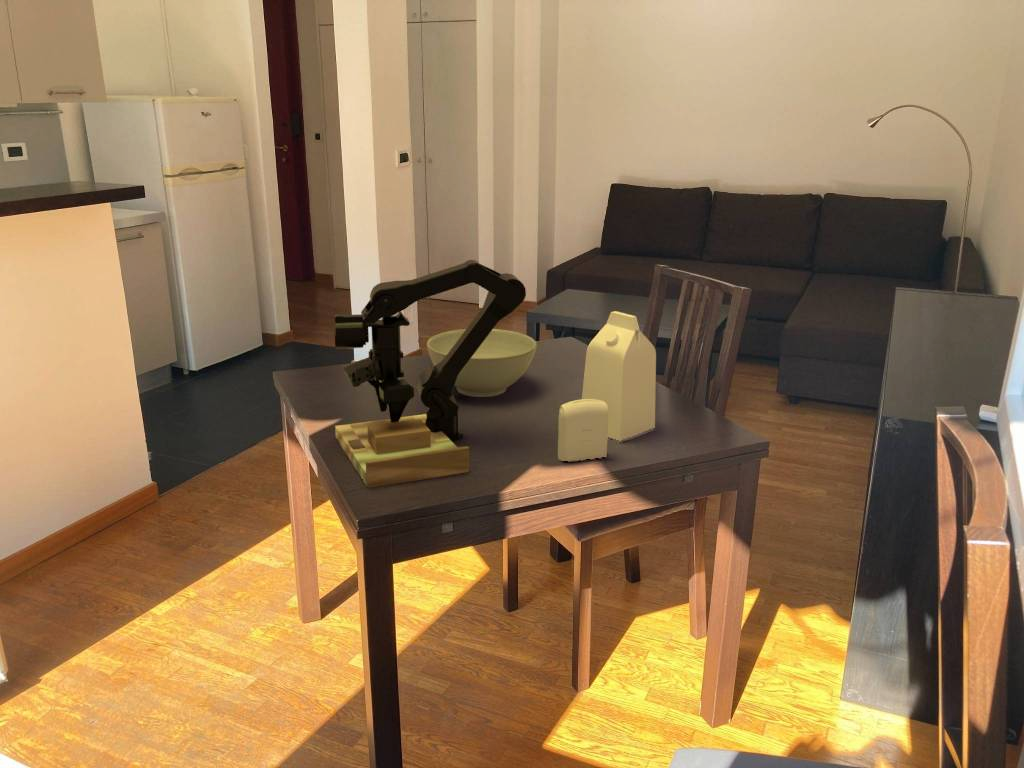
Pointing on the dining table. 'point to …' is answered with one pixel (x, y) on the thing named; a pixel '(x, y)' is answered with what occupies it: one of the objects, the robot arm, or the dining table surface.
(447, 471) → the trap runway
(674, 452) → the dining table surface
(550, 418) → the dining table surface
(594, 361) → the milk
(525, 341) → the decorative bowl
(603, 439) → the photo printer
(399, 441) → the walnut block
